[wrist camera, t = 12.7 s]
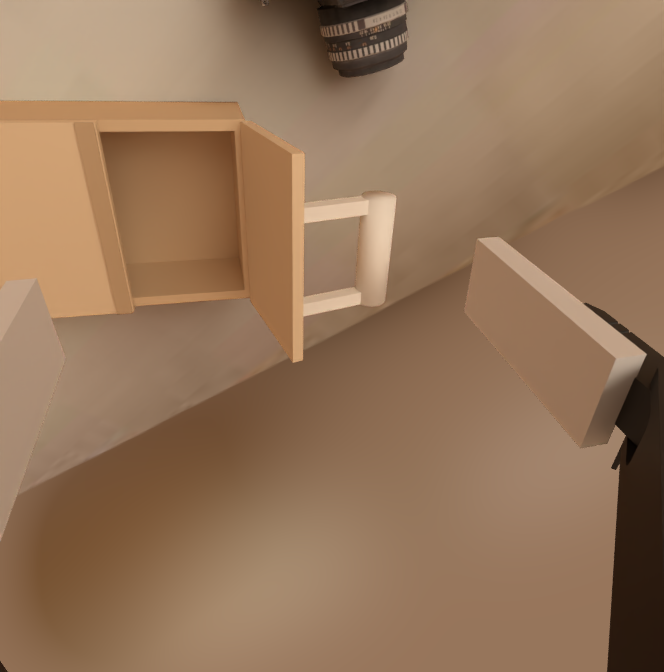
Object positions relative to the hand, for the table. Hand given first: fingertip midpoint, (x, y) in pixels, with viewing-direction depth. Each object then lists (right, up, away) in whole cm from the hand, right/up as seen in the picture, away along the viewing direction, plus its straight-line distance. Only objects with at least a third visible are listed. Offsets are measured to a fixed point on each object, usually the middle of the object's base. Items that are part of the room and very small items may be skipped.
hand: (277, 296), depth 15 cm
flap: (-3, +6, +21) cm, 22 cm away
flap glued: (-20, +7, +22) cm, 31 cm away
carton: (-17, +12, +30) cm, 36 cm away
